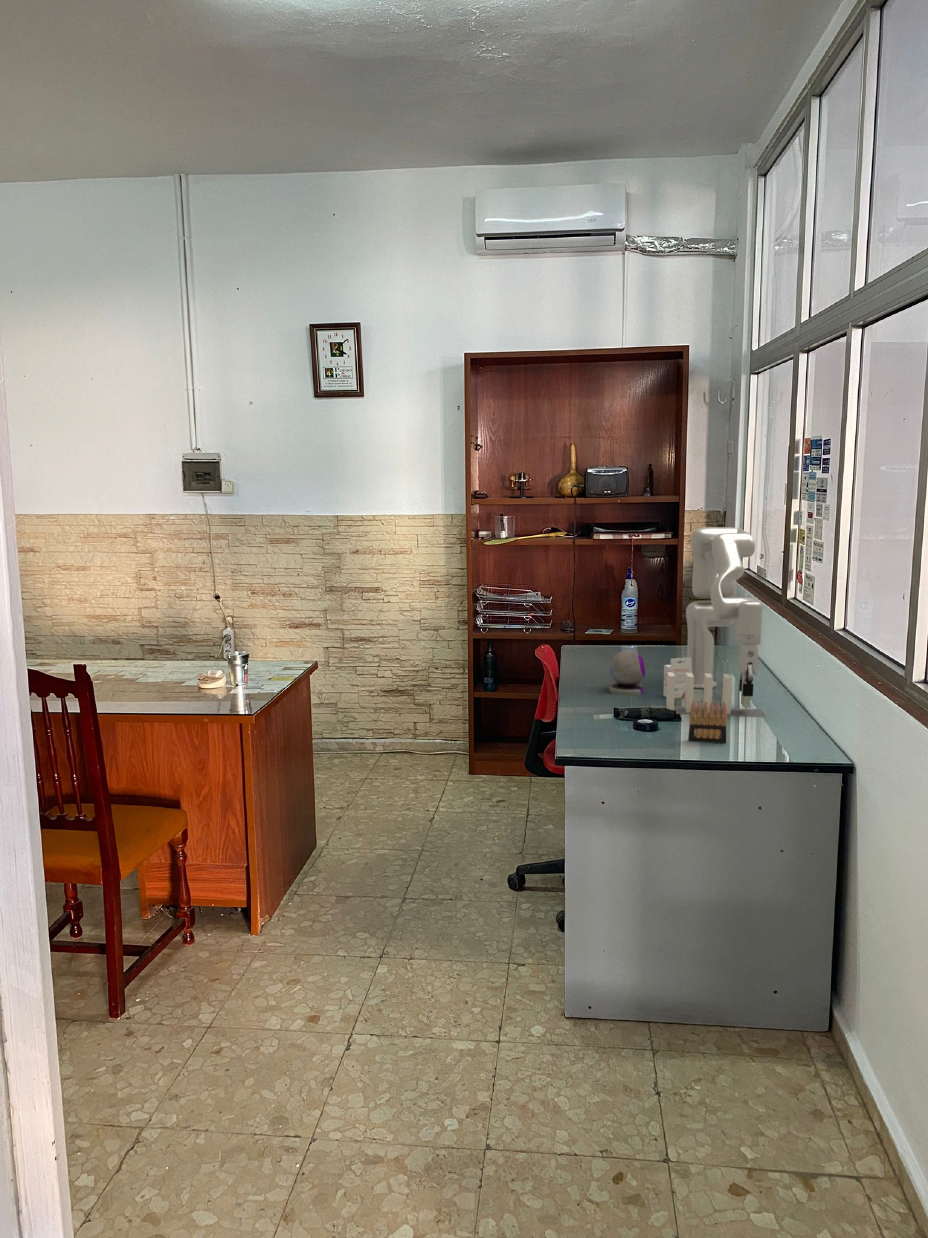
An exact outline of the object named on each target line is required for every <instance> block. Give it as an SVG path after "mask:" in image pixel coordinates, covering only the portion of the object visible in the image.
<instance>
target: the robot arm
mask: <svg viewBox="0 0 928 1238" xmlns="http://www.w3.org/2000/svg"><path fill="white" fill-rule="evenodd" d="M690 547H691V548H690V549H691V553H692V557H693V565H692V567H693V568H692V583H691V584H692V585H691V587H692V588H691V589H692V590H691V591H692V594H693V595H694V597H697V598H701V599H702V598H703V599H704V598H705V599H710V600H695V601H692V602H691V603H689V604H688V605H687V607H686V610H685V617H686V623H687V650H686V652H687V654H686V658H691V663H692V665H691V666H692V674H693V676H694V689H704V674H705V673H709V674H711V675H712V676H713V675H714V674H713V672H714V654H715V653H714V652H715V650H714V649H715V638H714V636H713V634H712V632H711V631H710V630H709V628H712V627H713V628H714V627H729V626H731V625H732V624H733V623H734V621H736V638H735V639H736V640H735V643H736V644H737V645H739V649H738V671H739V673H740V675H739V685H738V686H739V687H738V691H739V692H741V689H742V674H743V675H744V684H743V694H742V695H743V696H751V697H753V696H754V685H755V684H754V676H758V675H759V646H760V645H761V642H762V641H761V640H762V624H763V623H762V621H763V620H762V619H763V604H762V603H761V601H758V600H755V599H754V598H753V597H737V593H738V592H737V591H738V590H737V589H738V583H737V580H739V579H740V578H742V576H743V575H744V574H745V567H744V563H743V561H742V558H750V557H752V556H753V555H754V553H755V551H756V543H755V539H754V537H753V536H752V534H751V533H749V532H748V531H746V530H744V529H742V528H740V527H729V526H727V527H718V526H716V527H715V526H714V527H712V526H711V527H710V526H708V527H706V526H705V527H699V528H696V529H695V530H694V531H692V533H691V536H690ZM746 672H748V674H746ZM746 676H748V677H747V678H746ZM713 677H714V676H713ZM717 684H718V683H717V682H716V680H713V688H715V687H717V686H718V685H717Z"/></svg>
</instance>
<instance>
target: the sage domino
mask: <svg viewBox="0 0 928 1238" xmlns="http://www.w3.org/2000/svg"><path fill="white" fill-rule="evenodd" d="M746 674H748V672H746ZM747 677H748V676H746V678H747ZM743 684H744V675H743V674H742V689H741V691H740V693H741V695H740V704H741V706H742V707H743V709H751V697H752V696H743V695H742V694H743Z"/></svg>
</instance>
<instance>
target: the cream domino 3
mask: <svg viewBox="0 0 928 1238" xmlns="http://www.w3.org/2000/svg"><path fill="white" fill-rule="evenodd" d="M713 681H714V676H712V675H711V674H709V673H705V674H704V688H703V700H702V702H703V704H702V707H703V709H704V704H705V702H707V706H708V713H709V711H710V705H711V702H713V688H714V687H713Z"/></svg>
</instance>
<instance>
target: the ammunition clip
mask: <svg viewBox="0 0 928 1238" xmlns="http://www.w3.org/2000/svg"><path fill="white" fill-rule="evenodd" d="M695 703H696V702H695V701H694V700H693V702H692V705H691V713H690V714H689V728H688V742H692V743H693V742H694V743H695V742H696V743H713V744H714V743H715V744H717V743H718V744H727V720H728V717H727V716H726V704H725V702H724V703H723V707H722V706H721V705H720V702H719V701H717V703H716V706H714V703H713V701H712V702H711V705H710V711H709V715H708V706H707V702H705V704H704V709H703V715H702V714H701V707H702V702H701V701H700V700H699V701H698V703H697V706H696V704H695ZM695 707H697V714H696V715H695ZM714 708H716V713H715V715H714ZM720 708H722V715H720Z"/></svg>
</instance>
